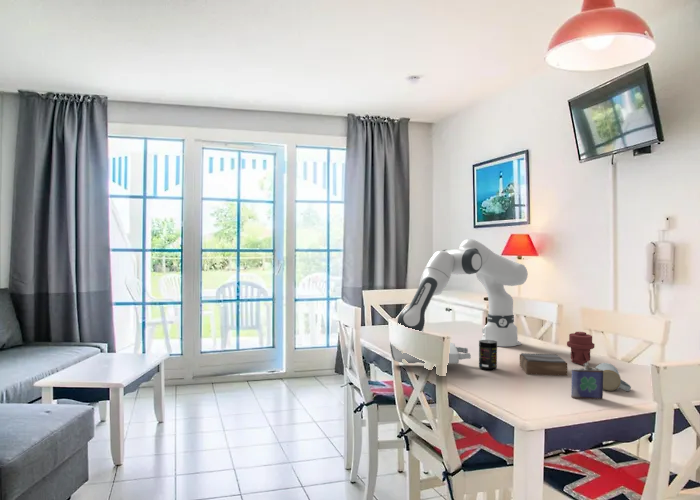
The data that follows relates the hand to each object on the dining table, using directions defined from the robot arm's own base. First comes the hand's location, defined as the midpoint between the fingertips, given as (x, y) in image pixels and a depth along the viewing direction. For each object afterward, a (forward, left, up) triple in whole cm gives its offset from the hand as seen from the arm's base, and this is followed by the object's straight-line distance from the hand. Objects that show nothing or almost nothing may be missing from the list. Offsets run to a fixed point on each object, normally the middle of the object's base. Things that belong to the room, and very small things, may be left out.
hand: (469, 353), depth 192 cm
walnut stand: (0, +27, -6) cm, 28 cm away
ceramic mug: (+22, +44, -6) cm, 49 cm away
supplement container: (0, +7, -6) cm, 9 cm away
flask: (+33, +32, -6) cm, 47 cm away
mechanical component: (-14, +45, -6) cm, 47 cm away
